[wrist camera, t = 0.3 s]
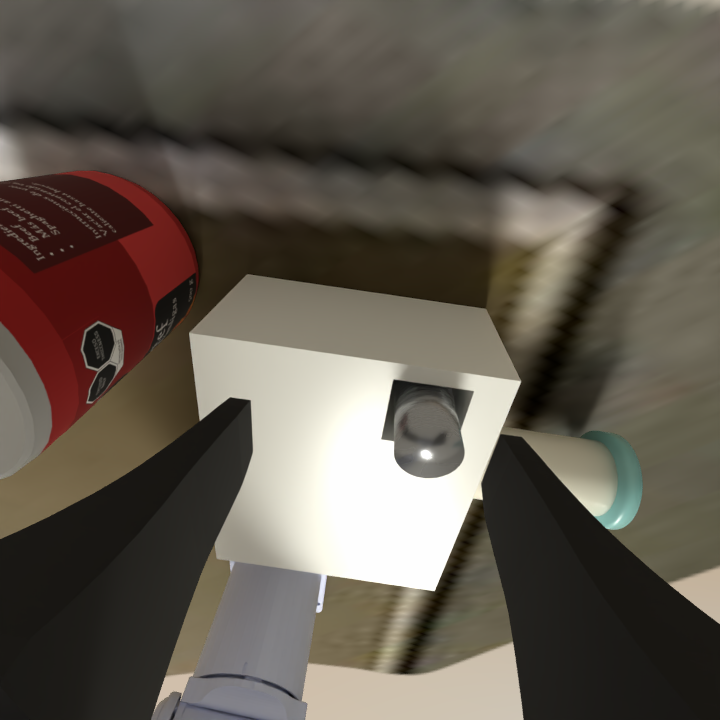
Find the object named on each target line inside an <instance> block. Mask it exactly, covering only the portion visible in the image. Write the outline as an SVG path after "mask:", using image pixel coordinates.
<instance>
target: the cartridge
mask: <svg viewBox="0 0 720 720" xmlns="http://www.w3.org/2000/svg"><path fill="white" fill-rule="evenodd" d="M500 434H505V435H512V436H520V437H522V438H523V439H524V440H525V441H526V442H527V443H528V444H529V445H530V446H531V447H532V449H533V450H534V451H535V452H536V453H537V454H538V455H539V457H540V458H541V459H542V460H543V461H544V462H545V463H546V465H547V466H548V467H549V468H550V469H551V470H552V471H553V473H554V474H555V475H556V476H557V477H558V478H559V479H560V480H561V482H562V483H563V484H564V485H565V486H566V487H567V488H568V489H569V490H570V491H571V493H572V494H573V495H574V496H575V497H576V498H577V499H578V500H579V501H580V502H581V503H582V504H583V505H584V506H585V508H586V509H587V510H588V511H589V512H590V513H591V514H592V515H593V516H594V517H595V518H596V519H597V520H598V521H599V522H600V523H601V524H602V525H603V526H604V527H605V528H606V529H612V530H615V529H621V528H623V527H625V526H626V525H628V524H629V523H630V522H631V521H632V520H633V518H634V516H635V515H636V513H637V511H638V508H639V505H640V502H641V497H642V473H641V468H640V464H639V461H638V458H637V456H636V454H635V452H634V450H633V448H632V447H631V445H630V444H629V443H628V442H627V441H626V440H625V439H624V438H623V437H621V436H619V435H617V434H614V433H608V432H601V431H590V432H587V433H585V434H584V435H582V436H581V437H580V438H576V437H569V436H562V435H556V434H549V433H542V432H535V431H528V430H521V429H514V428H508V427H502V429H501V432H500ZM500 434H499V436H500ZM499 436H498V439H499ZM498 439H497V441H498ZM497 441H496V444H497ZM496 444H495V446H496ZM495 446H494V448H493V451H494V449H495ZM493 451H492V453H491V456H490V458H489V461H488V463H487V465H486V468H485V470H484V473H483V475H482V477H481V480H480V482H479V485H478V487H477V490H476V492H475V494H474V497H473V498H474V499H480V500H483V498H482V488H481V482H482V479H483V477H484V474H485V472H486V469H487V467H488V464H489V462H490V459H491V457H492V454H493Z"/></svg>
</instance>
